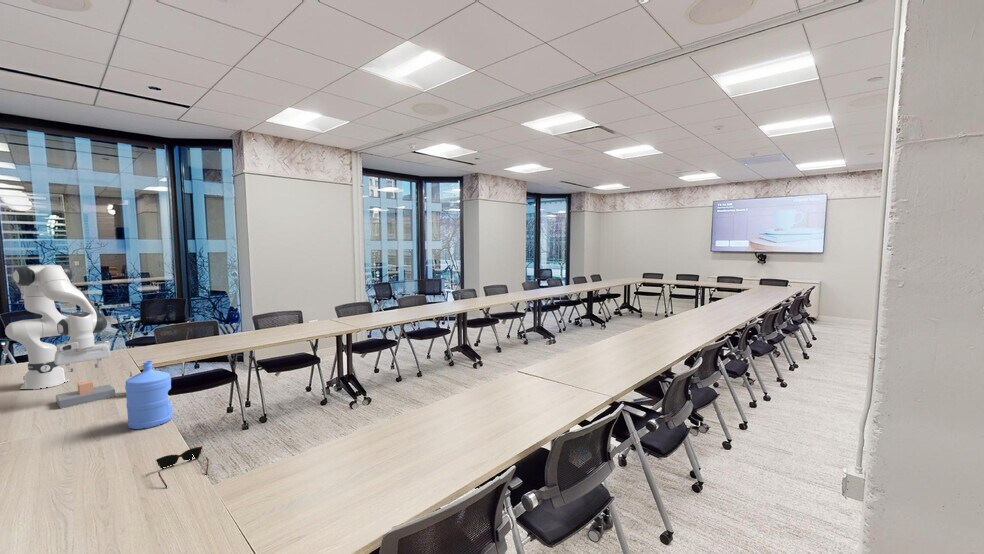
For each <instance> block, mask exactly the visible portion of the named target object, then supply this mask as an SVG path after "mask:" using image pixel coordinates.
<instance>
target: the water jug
mask: <svg viewBox="0 0 984 554" xmlns="http://www.w3.org/2000/svg"><path fill="white" fill-rule="evenodd" d="M142 365H143V367H142V368H143V370H142V371H141V372H139V373H137V374H134V376H133V377H131V378H130V377H129V378H128V379H126V381H125V384H124V385H125V386H124V387H125V394H126V395H125V398H126V411H127V427H128V428H129V429H131V428H132V429H133V430H143V428H145V429H150V428H149V427H151V428H155V427H158V426H161V425H164V424H166V423H169V422H170V421H171V420H172V419H173V418H174V412H173V403H172V401H170V400H169V391H170V390H171V389H172V378H171V377H172V376H171V373H169V372H166V371H159V370H154V369H153V361H152V360H146V361H143V362H142ZM169 417H170V418H169ZM170 419H171V420H170ZM163 423H164V424H163ZM160 424H161V425H160ZM154 426H155V427H154ZM132 429H131V430H132Z"/></svg>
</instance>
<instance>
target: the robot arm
mask: <svg viewBox="0 0 984 554" xmlns="http://www.w3.org/2000/svg"><path fill="white" fill-rule="evenodd" d="M73 274H74V273H73V270H72V268H71V266H69V265H66V264H40V265H29V266H19V267H16V268H15V269H14V271H13V273H12V278H13V281H14V282H15V284H17V285H18V286H21V287H22V286H23V301H24V302H23V303H24V308H25V310H26V311H27V312H30V313H33V314H36V315H37V314H38V315H41V316H42V317H40V318H33V319H31V318H30V319H22V320H18V321H12V322H10V323H8V325H6V327H5V329H4V332H5V333H4V334H5V335H6V336H7V338H9V339H10V340H12V341H15V342H16V343H17V342H18V343H19V344H21V345H22V346H23V347H24V349H25V350H26V352H27V357H28V359H27V360H28V363H27V370H28V371H27V372H26V373H24V375H23V377H22V379H23V384H22V385H21V387H20V389H33V390H40V388H42V389H46V387H48V388H52V387H56V386H59V385H62V384H65V383H67V381H68V382H70V379H69V378H66V377H65V369H64V368H63V367H61V366H65V367H66V369H68V373H74V367H70V365H71V364H76V363H82V362H88V361H95V360H97V361H96V363H95V364H93V365H94V368H95V369H97V368H100V364H101V362H102V359H107V358H110V357H111V349H110V348H111V342H110V341H108V340H100V341H95V335H94V334H98V333H99V334H100V333H102V332H103V331H105V330H106V329H107V327H108V321H107V319H106V317H105V316H104V315H103V314H101V312H100V311H99V310H98V309H97V307H96V306H95V304H94V303H93V302H92V300H91V299H90V298H89V296H88V295H87V294H86V293H85V291H83V290H80V289H77V288H76V287H75V286H74V285H73V284H72V282H71V280H73V276H74V275H73ZM55 302H59V303H67V304H72V305H73V304H74V305H76V306H78V307H80V308H81V310H82V311H75V312H71V313H70V314H69V316H65V314H64V315H63V314H62V313H61V312H60V311H59V310H58V309H57V307H56V304H55ZM56 336H58V337H59V336H63V337H69V341H66V342H63V343H59V344H58V345H57V346H56V345H55V344H53V343H49V342H44V341H41V338H49V337H56ZM64 382H65V383H64ZM20 389H19V390H20Z"/></svg>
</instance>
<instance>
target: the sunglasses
mask: <svg viewBox="0 0 984 554" xmlns="http://www.w3.org/2000/svg"><path fill="white" fill-rule="evenodd" d="M202 452H203V453H204V457H205V459H206V469H205V475H206V476H207V475H208V469H209V457H208V456H207V453H206V452H205V450H204V447H203V446H196V447H192V448H190V449H187V450H185V451H183V452H182V453H181V454H168V455H164V456H162V457H158V458H157V459H155V465H156V469H157V474H158V477H159V478H160V480H161V482H162V484H163V485H164V486H165V488H166V487H167V486H168V485H167V483H166V482H165V480H164V479H163V477H162V475H161V473H160V471H159V468H160V469H161V468H163V467H167V466H170V465H173V464H175V465H176V464H177V463H178V461H179V458H181V459H182V460H183V461H185V460H189V459H190V460H192V457H193V455H194V457H195V458H196V459H195V460H198V459H199V457H200V455H201V454H202ZM192 454H193V455H192ZM194 457H193V458H194ZM192 461H193V460H192Z"/></svg>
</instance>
